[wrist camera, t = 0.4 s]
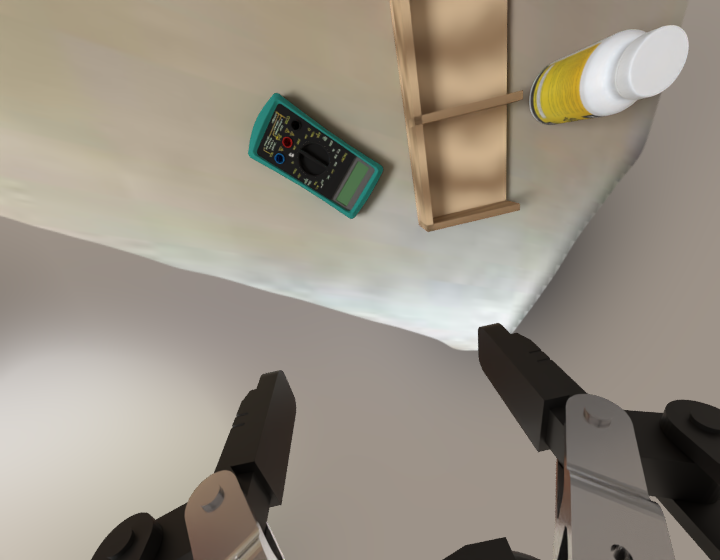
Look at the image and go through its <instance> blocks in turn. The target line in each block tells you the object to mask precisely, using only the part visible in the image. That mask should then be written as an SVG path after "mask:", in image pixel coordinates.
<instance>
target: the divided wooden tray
mask: <svg viewBox="0 0 720 560" xmlns="http://www.w3.org/2000/svg"><path fill="white" fill-rule="evenodd" d="M390 8H391V15H392V23H393V30H394V38H395V46H396V53H397V61H398V69H399V76H400V84H401V92H402V99H403V107H404V114H405V122H406V130H407V137H408V145H409V153H410V160H411V168H412V176H413V183H414V191H415V198H416V206H417V214H418V221H419V225H420V226H421V227H422V228H424V229H425V230H426V231H427V232H430V231H434V230H438V229H442V228H446V227H451V226H455V225H459V224H463V223H467V222H472V221H476V220H480V219H484V218H489V217H493V216H497V215H501V214H505V213H510V212H514V211H518V210H520V204H519V203H515V202H511V201H507V200H506V121H507V104H509V103H512V102H515V101H519V100H522V99H523V90H522V91H518V92H514V93H510V94H507V0H390Z"/></svg>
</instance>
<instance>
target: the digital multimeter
mask: <svg viewBox="0 0 720 560" xmlns="http://www.w3.org/2000/svg"><path fill="white" fill-rule="evenodd" d="M289 109H290V110H289ZM271 117H272V118H271ZM302 118H303V119H302ZM267 126H268V127H267ZM248 154H249V156H250V157H251V158H252V159H254V160H256V161H258V162H259V163H261V164H263V165H265V166H267V167H268V168H270V169H272V170H274V171H276V172H277V173H279V174H281V175H282V176H284V177H286V178H288V179H289V180H291V181H293V182H295V183H296V184H298V185H300V186H301V187H303V188H304V189H306V190H308V191H309V192H311V193H312V194H314V195H315V196H317V197H319V198H320V199H322V200H323V201H325V202H326V203H328V204H329V205H331V206H332V207H334V208H335V209H337V210H338V211H340V212H341V213H343V214H344V215H345V216H347V217H348V218H350V219H353V218H354V217H355V216H356V215H357V214H358V212H359V211H360V209H361V208H362V207H363V205H364V204H365V202H366V201H367V199H368V198H369V196H370V194H371V193H372V191H373V189H374V187H375V185H376V184H377V182H378V180H379V178H380V176H381V174H382V172H383V167H382V166H381V165H380V164H378V163H377V162H375V161H373V160H372V159H370V158H369V157H367V156H366V155H364V154H362V153H361V152H359V151H358V150H356V149H354V148H353V147H351V146H350V145H348V144H347V143H346V142H344V141H343V140H341V139H340V138H338V137H337V136H335V135H334V134H332V133H331V132H329V131H328V130H326V129H325V128H324V127H322V126H321V125H320V124H318V123H317V122H316V121H314V120H313V119H312V118H310V117H309V116H307V115H306V114H305V113H303V112H302V111H301V110H299V109H298V108H297V107H296V106H294V105H293V104H292V103H290V102H289V101H288V100H286V99H285V98H284V97H283V96H281V95H280V94H278V93H274V94H273V95H272V97H271V98H270V99H269V101H268V102H267V103H266V104H265V106H264V107H263V109H262V110H261V112H260V113H259V115H258V117H257V119H256V122H255V124H254V126H253V130H252V134H251V138H250V144H249V151H248ZM274 165H275V166H274ZM301 170H302V171H301ZM315 177H316V178H315Z"/></svg>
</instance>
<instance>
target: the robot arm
mask: <svg viewBox="0 0 720 560" xmlns="http://www.w3.org/2000/svg"><path fill="white" fill-rule="evenodd" d="M478 352H479V361H480V365H481V367H482V370H483V371H484V373H485V374H486V376H487V377H488V379H489V380H490V382H491V383H492V385H493V386H494V388H495V389H496V391H497V392H498V394H499V395H500V396H501V398H502V399H503V401H504V402H505V404H506V405H507V407H508V408H509V410H510V411H511V413H512V414H513V416H514V417H515V419H516V420H517V422H518V423H519V425H520V426H521V428H522V429H523V430H524V432H525V433H526V435H527V436H528V438H529V439H530V441H531V442H532V444H533V445H534V447H535V448H536V449H537V451H538V452H540V451H544V450H549V449H551V451H552V452H553V454H554V455H555V456H556V458H557V461H556V505H555V506H556V507H555V509H556V510H555V536H554V546H553V560H675V556H674V553H673V548H672V544H671V540H670V536H669V533H668V528H667V524H666V520H665V517H664V514H663V511H662V509H661V507H660V506H659V505H658V503H656V502H653V501H651V500H650V498H649V496H655V497H656V498H658V500H659V501H660V502H661V503H662V504H663V506H664V507H665V508H666V509H667V510H668V511H669V512H670V514H671V515H672V516H673V517H674V518H675V519H676V520H677V521H678V523H679V524H680V525H681V526H682V527H683V528H684V530H685V531H686V532H687V533H688V534H689V535H690V536H691V538H693V540H694V541H695V542H696V543H697V545H698V546H699V547H700V548H701V549H702V550H703V551H704V552H705V554H706V555H707V556H708V557H709V558H710V559H711V560H720V409H718V408H716V407H713V406H710V405H708V404H704V403H701V402H696V401H691V400H676V401H672V402H670V403H668V404H667V406H666V408H665V410H664V413H655V412H641V411H629V410H623V409H622V408H620V407H619V406H618V405H616V404H615V403H613V402H611V401H609V400H607V399H605V398H602V397H599V396H596V395H591V394H587V393H586V392H585V391H584V390H583V389H582V388H581V387H580V386H579V385H578V384H577V383H576V382H574V381H573V380H572V379H571V378H570V377H569V376H568V375H567V374H566V373H565V372H564V371H563V370H562V369H561V368H560V367H559V366H557V364H556V363H555V362H553V361H552V360H550V358H549V357H548V356H547V355H546V354H545V353H544V352H542V351H541V349H540V348H539V347H538V346H536V344H535V343H533V342H532V341H531V340H530V339H528V338H526V337H524V336H522V335H520V334H518V333H514V334H510V333H509V332H508V331H507V330H506V329H505V328H504V327H503V326H502V325H501V324H500V323H496V324H491V325H487V326H482V327H479V329H478ZM295 415H296V402H295V397H294V395H293V392H292V390H291V388H290V386H289V383H288V381H287V379H286V376H285V374H284V372H283V371H282V370H279V371H275V372H270V373H266V374H263V375H261V377H260V380H259V383H258V386H257V389H255V390H251V391H250V392H249V393H248V395H247V396H246V397H245V399H244V400H243V401H242V402H241V405H240V407H239V410H238V412H237V417H236V418H235V420H234V423H233V425H232V426H233V428H232V429H231V430H230V433H229V436H228V438H227V441H226V443H225V446H224V449H223V451H222V454H221V457H220V459H219V462H218V464H217V467H216V469H215V472H214V474H212V475H210V476H209V477H208V478H206V479H205V480H204V481H202V482H201V483H200V484H199V486H198V487H197V488H196V489H195V490H194V492H193V493H192V495H191V497H190V498H189V500H188V502H187V503H185V504H184V505H182V506H180V507H178V508H176V509H174V510H173V511H171V512H169V513H167V514H165V515H164V516H162V517H160V518H158V519H156V520H155V519H154V518H153V517H152V516H151V515H150V514H148V513H138V514H135V515H133V516H131V517H129V518H127V519H126V520H124V521H123V522H122V523H120V524H119V525H118V526H117V527H116V528H114V529H113V530H112V532H111V533H110V534H109V535H108V536H107V537H106V538H105V539H104V540H103V542H102V543H101V545H100V546H99V548H98V549H97V551H96V552H95V554H94V556H93V557H92V559H91V560H285V558H284V556H283V554H282V551H281V549H280V547H279V545H278V543H277V541H276V539H275V537H274V535H273V533H272V530H271V528H270V526H269V524H268V522H267V518H268V512H269V507H273V506H278V505H281V504H282V497H283V491H284V485H285V479H286V472H287V466H288V459H289V453H290V447H291V440H292V434H293V428H294V422H295ZM443 560H540V559H537V558H535V557H533V556H530V555H527V554H523V553H520V552H515V551H512V550H511V548H510V546H509V544H508V541H507V539H506V537H504V538H499V539H494V540H489V541H484V542H480V543H475V544H470V545H465V546H464V547H462V548H460V549H459V550H457V551H456V552H454V553H453V554H451V555H450V556H448V557H446V558H445V559H443Z"/></svg>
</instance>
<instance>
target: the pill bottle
mask: <svg viewBox="0 0 720 560" xmlns="http://www.w3.org/2000/svg"><path fill="white" fill-rule="evenodd" d="M688 48H689V43H688V38H687V35H686V33H685V31H684V30H683V29H682V28H680V27H678V26H675V25H667V26H663V27H660V28H658V29H655V30H652V31H649V32H647V33H646V32H644V31H642V30H637V29H630V30H624V31H621V32H618V33H616V34H614V35H611V36H609V37H607V38H605V39H603V40H601V41H598V42H596V43H594V44H592V45H590V46H588V47H585V48H583V49H581V50H579V51H577V52H574V53H572V54H570V55H568V56H565V57H563V58H561V59H558V60H556V61H554V62H552V63H551V64H549V65H548V66H546V67H545V68H544V69H543V70H542V71H541V72H540V74H539V75H538V76H537V78H536V79H535V81H534V83H533V85H532V88H531V91H530V96H529V106H530V111H531V113H532V115H533V117H534V118H535V119H536V120H537V121H539V122H540V123H543V124H548V125H552V124H559V123H565V122H571V121H577V120H583V119H589V118H596V117H603V116H608V115H613V114H616V113H619V112H621V111H623V110H625V109H626V108H628V107H629V106H631V105H632V104H633V103H635V102H636V101H637V100H638V99H643V98H647V97H651V96H654V95H657V94H659V93H661V92H662V91H664V90H665V89H667V88H668V87H669V86H670V85H671V84H672V83H673V82H674V81H675V79H676V78H677V77H678V75H679V74H680V72H681V71H682V68H683V66H684V64H685V62H686V59H687V55H688Z"/></svg>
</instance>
